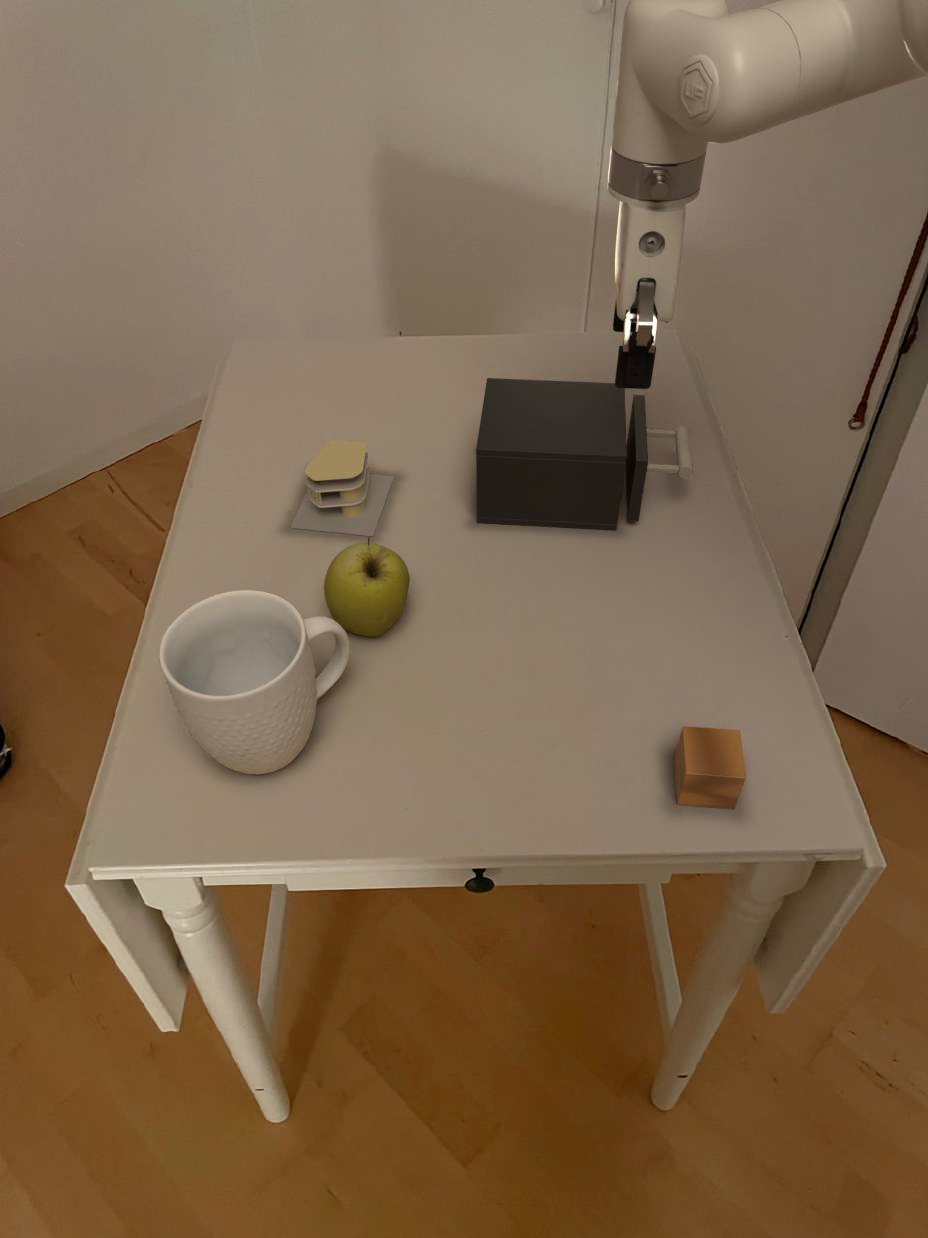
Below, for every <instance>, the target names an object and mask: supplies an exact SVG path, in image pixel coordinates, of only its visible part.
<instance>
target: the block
mask: <svg viewBox="0 0 928 1238" xmlns="http://www.w3.org/2000/svg"><path fill="white" fill-rule="evenodd" d="M673 763H674V777H675V792H676V795H675V796H676V804H677V805H678V806H689V807H701V808H702V807H703V808H714V809H715V808H716V809H727V810H735V808H736V805H737V803H738V800H739V797H740V795H741V792H742V790H743V788H744V785H745V782H746V779H747V775H746V767H745V759H744V751H743V743H742V735H741V730H740V729H729V728H714V727H701V726H700V727H699V726H686V725H685V726H684V725H683V726H682V727H681V731H680V735H679V738H678V741H677V746H676V750H675V753H674V757H673Z"/></svg>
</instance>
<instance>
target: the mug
mask: <svg viewBox="0 0 928 1238" xmlns="http://www.w3.org/2000/svg"><path fill="white" fill-rule="evenodd" d="M324 634H331V635H333V636H334V639H335V647H334V651H333V654H332V656H331V658H330V660H329V662H328V663H327V665H326V666H325V667H324V669H323V670H322V671H321V672H320V673H319V675H318V676H317V677H316V668H315V660H314V658H313V654H312V653H313V652H312V647H311V644H310V642H312V641H314V640H316V638H319V637H320V636H322V635H324ZM160 641H161V642H160V645H159V651H158V659H159V660H158V661H159V666H160V669H161V672H162V675H163V677H164V679H165V683H166V684H167V687H168V691H169V694H170V696H171V697H172V700H173V704H174V706H175V707H176V708H177V712H178V714H179V716H180V718H181V719H182V721H183V724H184V726H185V727H186V728H187V730H188V733H189V734H190V735H191V736H192V737H193V738H194V740H195V742H196V743H197V744H198V745H199V746H200V747H201V748H202V750H203V751H204V752H206V753H208V755H209V757H210V758H213V759H214V760H216V762H217V763H219V764H221V765H223V766H224V767H225V768H229V769H230V770H233V771H236V772H238V773H242V774H247V775H264V774H265V775H266V774H269V773H273V772H276V771H279V770H281V769H283V768H284V767H286V766H288V765H289V764H290V763H292V762H293V761H294V760H295V759H296V758H297V756H298V755H299V754H300V753H301V752H302V750H303V749H304V747H305V746H306V745H307V742H308V740H309V738H310V736H311V732H312V731H313V728H314V727H313V726H314V722H315V717H316V712H317V704H318V699H320V697H322V696H323V695H324V694H326V693H327V692H328V691H329V690H330V689H331V688H332V687H333V686H334V685H335V684H336V683H337V681H338V680H339V679H340V677H341V676H342V675H343V673H344V671H345V670H346V667H347V666H348V663H349V660H350V656H351V642H350V638H349V635H348V633H347V632H346V630H345V629H343V628H342V627H341V625H339V624H338V623H337V622H336V621H335V620H334V619H333V618H331V617H327V616H313V617H312V616H311V617H307V618H304V619H303V617H302V616H301V613H300V612H299V610H298V609H297V608H296V607H295V606H294V605H293V604H292V603H290V602H289V601H288V600H287V599H284V598H283V597H281V596H279V595H276V594H274V593H270V592H267V591H262V590H255V589H239V590H232V591H231V590H230V591H225V592H221V593H217V594H213V595H211V596H208V597H205V598H203V599H202V600H199V601H198V602H196V603H194V604H193V605H191V606H189V607H188V608H187V609H186V610H184V611H183V612H182V613H181V614H179V615H178V616H177V617H176V618H175V619H174V620H173V621H172V622H171V623H170V625H169V627H167V629H166V631H165V632H164V634H163V636H162V639H161V640H160Z"/></svg>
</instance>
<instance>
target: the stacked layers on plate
mask: <svg viewBox="0 0 928 1238" xmlns="http://www.w3.org/2000/svg"><path fill="white" fill-rule="evenodd" d="M367 447H368V443H367V442H359V441H348V440H341V439H340V440H337V439H331V440H330V441H329V442H327V444H326V445H325V446H324V447H323V448H322V449H321V450H320V451H319V452H318V453H317V454H316V455H315V456H314V457H313V458H312V459H311V460H310V461H309V462H308V464H307V465H306V467H305V469H304V472H303V473H304V474H305V475H306V476H307V478H306V481H305V484H306V486H307V487H308V488H307V490H306V491H305V494H304V497H303V499H302V501H301V503H300V506H299V508H298V510H297V512H296V514H295V516H294V519H293V521H292V523H291V525H290V528H291V529H297V530H307V531H308V530H309V531H319V532H326V533H334V534H335V533H336V534H346V535H355V536H356V535H357V536H364V537H365V536H366V537H374V536H375V535H374V534H375V532H376V530H377V526H378V523H379V521H380V518H381V515H382V512H383V509H384V507H385V504H386V501H387V499H388V496H389V494H390V491H391V487H392V484H393V482H394V479H395V476H394V475H393V476H392V475H382V474H372V473H371V468H370V467H368V460H369V453H368V452H367Z"/></svg>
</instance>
